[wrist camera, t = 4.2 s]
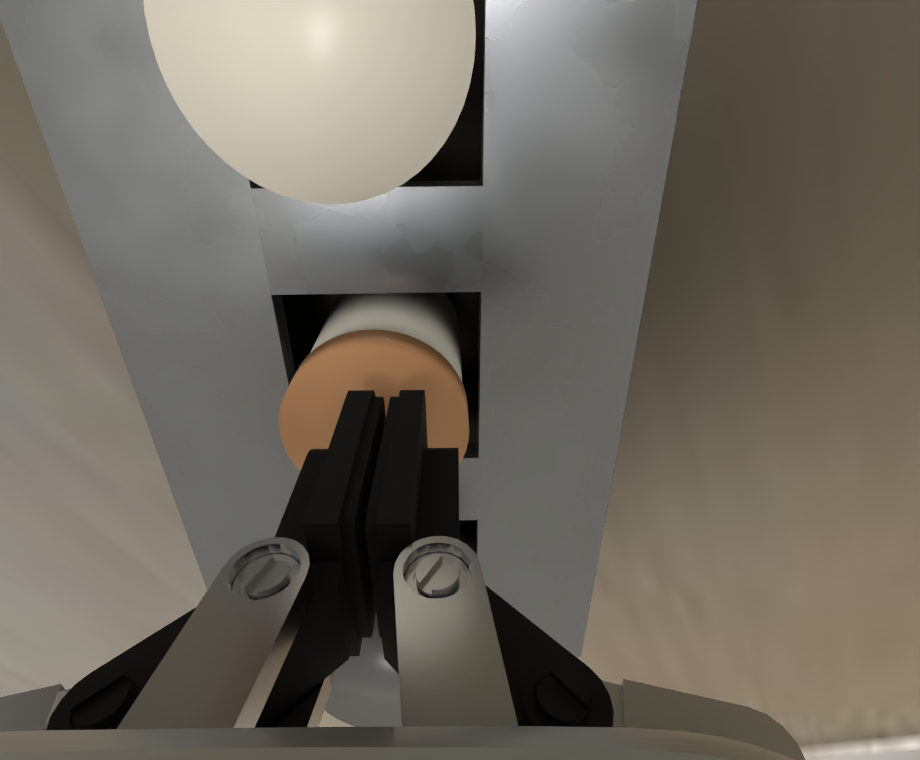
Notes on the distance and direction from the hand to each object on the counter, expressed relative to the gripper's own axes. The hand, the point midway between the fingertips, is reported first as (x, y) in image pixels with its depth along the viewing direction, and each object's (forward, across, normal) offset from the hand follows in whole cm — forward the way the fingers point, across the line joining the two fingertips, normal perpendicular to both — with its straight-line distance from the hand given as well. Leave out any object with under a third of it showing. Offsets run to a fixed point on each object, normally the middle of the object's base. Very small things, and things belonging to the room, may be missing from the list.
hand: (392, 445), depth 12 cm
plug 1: (+5, +1, -8) cm, 9 cm away
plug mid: (+7, +1, 0) cm, 7 cm away
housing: (+9, +1, 0) cm, 9 cm away
